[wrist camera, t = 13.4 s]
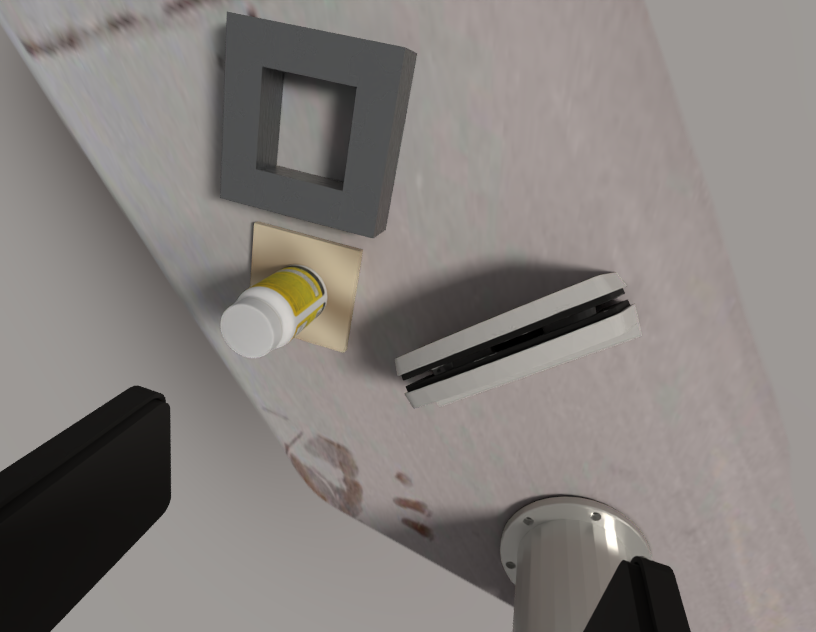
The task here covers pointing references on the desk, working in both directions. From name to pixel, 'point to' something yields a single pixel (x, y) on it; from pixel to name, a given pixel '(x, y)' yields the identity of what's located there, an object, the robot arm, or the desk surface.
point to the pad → (327, 261)
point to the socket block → (261, 108)
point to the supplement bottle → (273, 311)
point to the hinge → (561, 342)
